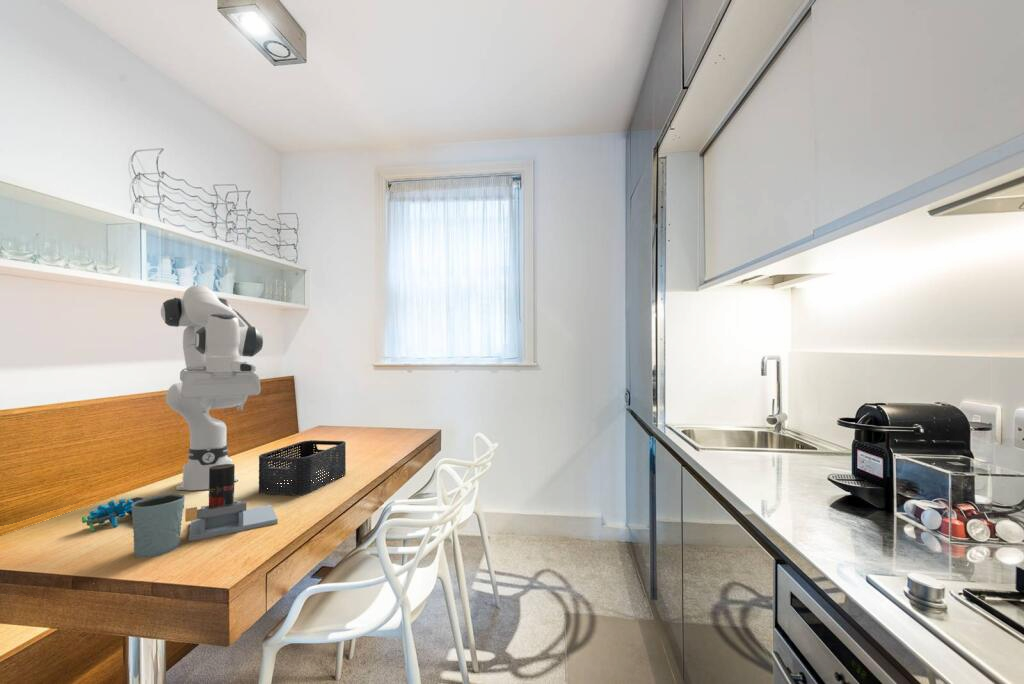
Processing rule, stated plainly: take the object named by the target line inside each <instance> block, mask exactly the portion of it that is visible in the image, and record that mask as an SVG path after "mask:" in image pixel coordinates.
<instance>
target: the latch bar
mask: <svg viewBox="0 0 1024 684" xmlns="http://www.w3.org/2000/svg"><path fill="white" fill-rule="evenodd" d="M246 509H247V501H241V502H239V503H233V504H227V505H221V506H215V507H209V508H204V509H201V508H199V509H198V507H197V506H194V507H188V508H185V512H184V513H185V514H184V516H185V517H184V518H185V520H184V521H185V523H187V522H191V521H193V520H197V519H202V518H208V517H213V516H219V515H225V514H230V513H236V512H241V511H246Z"/></svg>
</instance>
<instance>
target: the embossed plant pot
mask: <svg viewBox="0 0 1024 684" xmlns="http://www.w3.org/2000/svg"><path fill="white" fill-rule="evenodd" d="M185 497H186V496H185V495H184V494H182V495H181V494H180V493H179V494H176V493H175V494H174V493H169V494H161V495H154V496H151V497H146V498H143V499H142V500H139V501H136V502H134V503H133V504H132V505H131V509H132V515H131V517H132V519H131V520H132V526H133V527H132V529H133V531H132V532H133V553H134V556H135V557H136V558H139V557H142V558H141V559H143V557H146V558H153V557H158V556H161V555H165V554H168V553H171V552H172V551H175V550H176V549H177V548H179V547H180V543H181V537H180V536H181V532H182V530H181V529H182V520H183V513H184V508H183V506H184V507H185V500H186V498H185Z"/></svg>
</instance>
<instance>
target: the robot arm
mask: <svg viewBox="0 0 1024 684" xmlns="http://www.w3.org/2000/svg"><path fill="white" fill-rule="evenodd" d="M160 317H161V318H162V321H163V322H164V324H166V326H168V327H175V328H177V327H186V328H184V329H183V333H182V350H183V355H184V362H185V368H183V369H182V370H181V371H180V372H179V380H180V381H181V382H177V383H174V384H172V385H171V386H169V388H168V390H167V391H166V394H165V401H166V404H167V405H168V406H169V408H170V409H172V411H175V412H176V413H178V414H179V415H181V416H182V417H183V419H184V420H185V421H186V423H187V425H188V428H189V441H190V442H189V445H190V447H189V449H188V454H187V455H188V461H187V462H186V463H185V464H184V465H183V467H182V477H181V479H182V481H181V482H180V483H179V484H178V485H176V488H175V490H176V491H181V490H182V491H204V490H209V468H210V467H212V466H216V465H222V464H233V460H232V459H231V458H230V457H229V456H228V454H229V447H228V446H229V445H228V444H227V432H228V431H227V430H228V429H227V425H226V423H225V422H224V421H223V420H220V419H218V418H214V417H212V416H211V415H210V410H216V409H230V408H233V407H236V410H237V412H238V411H239V412H240V411H244V405H245V403H246V401H247V400H248V397H249V396H258V395H259V394H260V393H261V381H260V377H259V375H258V374H257V373H256V371H257V366H256V365H255V364H253V363H249V362H247V361H241V358H240V357H241V356H242V357H251V358H252V357H254V356H255V355H257V354H258V353H259V352H260V351H262V349H263V346H264V345H263V344H264V338H263V335H262V332H261V331H260V330H259V329H258V328H257V327H256V326H252V325H251V323H249V322H248V321H247V319H245V317H244V316H243V315H241V314H240V312H238V310H236V309H234V308H232V307H231V305H230V303H229V301H228V300H227V299H226V298H221V297H218V296H217V294H216V293H214V291H213V290H211V289H210V288H209V287H207V286H204V285H199V284H198V285H193V286H190V287H188V288H187V289H186V290H185V291H184V293H183V295H182V297H181V298H180V297H174V298H170V299H166V300H165V301H164V302H162V305H161V308H160ZM237 480H238V481H239V478H238V477H237V476H236V475H234V481H236V482H238V481H237Z"/></svg>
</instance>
